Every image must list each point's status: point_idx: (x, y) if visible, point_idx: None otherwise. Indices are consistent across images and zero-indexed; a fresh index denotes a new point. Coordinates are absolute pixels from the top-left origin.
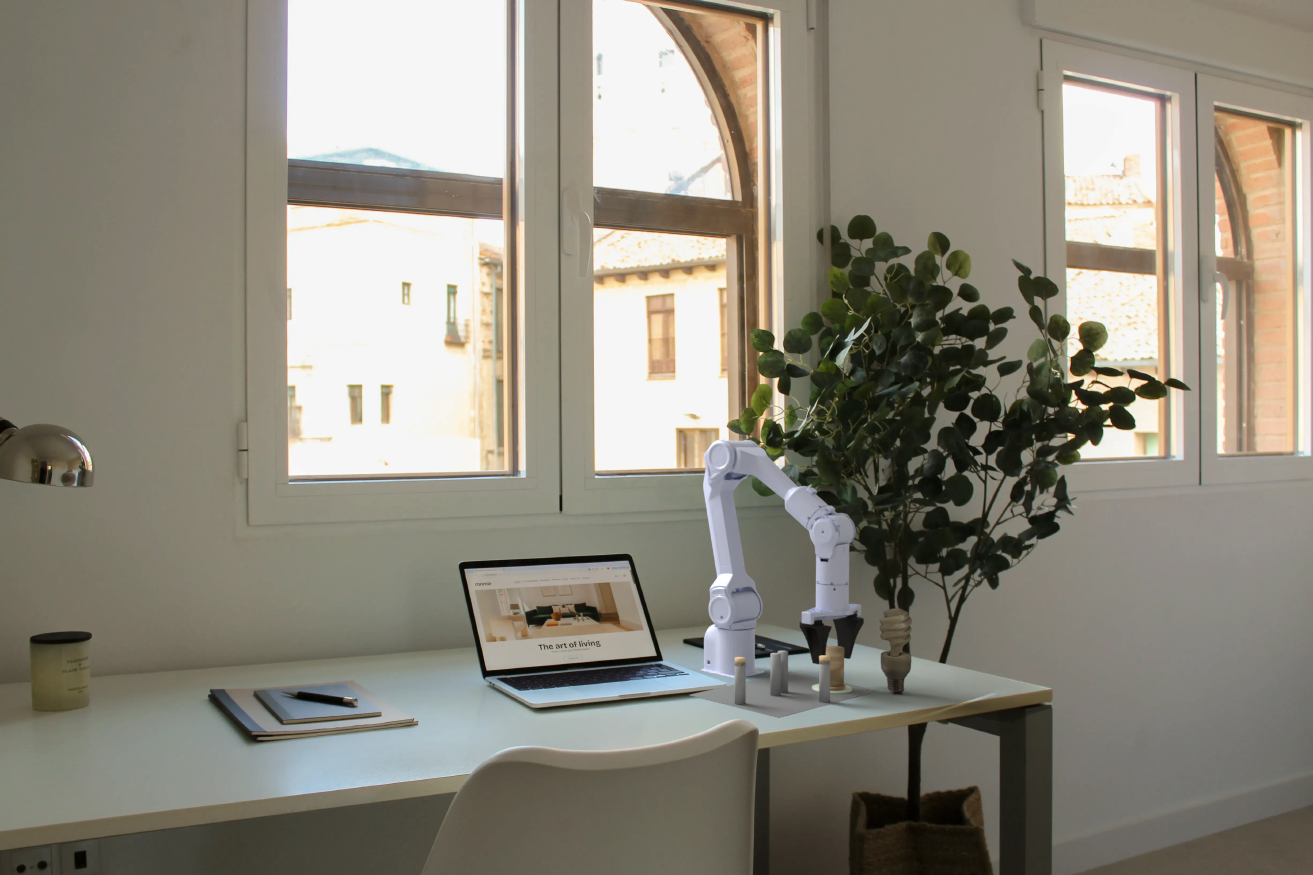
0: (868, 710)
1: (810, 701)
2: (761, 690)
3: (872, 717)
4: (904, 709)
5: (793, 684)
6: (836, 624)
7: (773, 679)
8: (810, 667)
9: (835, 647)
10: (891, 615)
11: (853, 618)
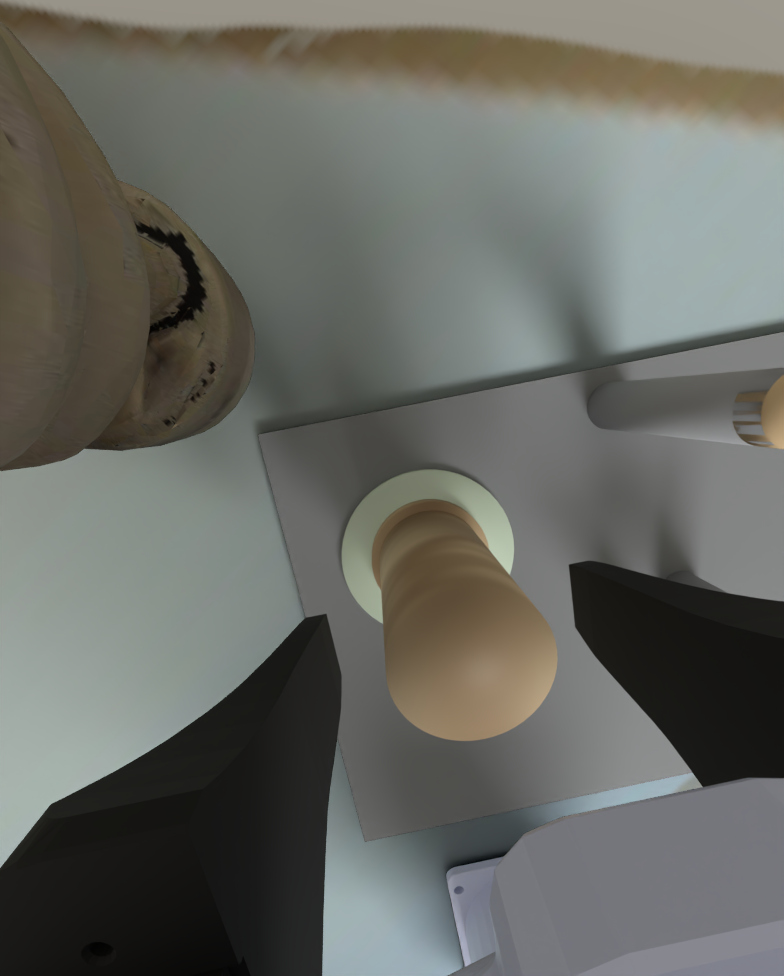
0: (536, 208)
1: (653, 438)
2: None
3: (617, 94)
4: (383, 117)
5: None
6: (313, 961)
7: None
8: None
9: (448, 663)
10: None
11: (165, 943)
